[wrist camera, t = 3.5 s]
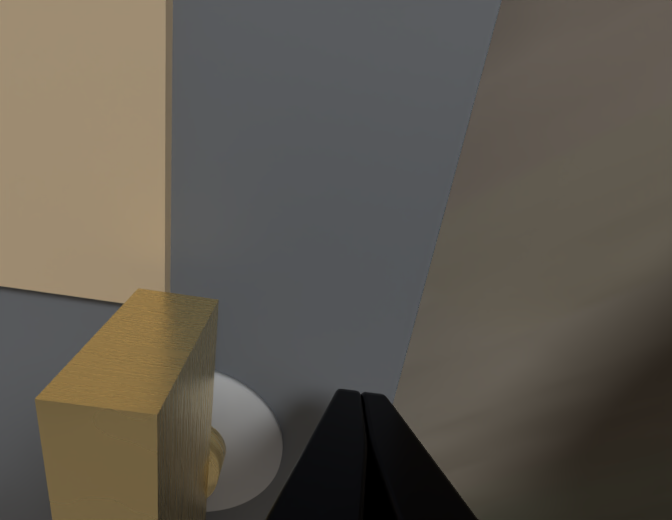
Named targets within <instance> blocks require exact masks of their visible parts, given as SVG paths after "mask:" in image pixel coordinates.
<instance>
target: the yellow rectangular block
mask: <svg viewBox="0 0 672 520" xmlns="http://www.w3.org/2000/svg"><path fill="white" fill-rule="evenodd" d="M218 304H219V300H218V299H211V298H204V297H197V296H190V295H183V294H176V293H169V292H162V291H155V290H148V289H141V288H138V289H137V290H136V291H135V292H134V293H133V294H132V295H131V297H130V298H129V299H128V300H127V301H126V302H125V303H124V304H123V305H122V306H121V307H120V308H119V309H118V310H117V311H116V313H115V314H114V315H113V316H112V317H111V318H110V319H109V320H108V321H107V322H106V323H105V324H104V325H103V326H102V327H101V329H100V330H99V331H98V332H97V333H96V334H95V335H94V336H93V337H92V338H91V339H90V340H89V341H88V342H87V344H86V345H85V346H84V347H83V348H82V349H81V350H80V351H79V352H78V353H77V354H76V355H75V356H74V357H73V358H72V360H71V361H70V362H69V363H68V364H67V365H66V366H65V367H64V368H63V369H62V370H61V371H60V372H59V373H58V375H57V376H56V377H55V378H54V379H53V380H52V381H51V382H50V383H49V384H48V385H47V386H46V387H45V388H44V389H43V391H42V392H41V393H40V394H39V395H38V396H37V397H36V398H35V405H36V412H37V419H38V426H39V433H40V439H41V446H42V453H43V460H44V467H45V473H46V480H47V487H48V494H49V501H50V507H51V514H52V520H206V505H207V498H208V497H209V496H210V495H211V494H212V493H213V492H214V490H215V488H216V485H217V482H218V479H219V475H220V472H221V469H222V465H223V462H224V459H225V455H226V445H225V442H224V439H223V438H222V436H221V435H220V433H219V432H218V431H217V430H216V429H215V428H213V427H212V426H211V421H212V405H213V388H214V371H215V354H216V338H217V321H218Z"/></svg>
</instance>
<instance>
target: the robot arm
mask: <svg viewBox="0 0 672 520" xmlns="http://www.w3.org/2000/svg"><path fill="white" fill-rule="evenodd" d="M265 520H478V519H477V518H476V516H475V515H474V514H473V512H472V511H471V510H470V508H469V507H468V506H467V504H466V503H465V502H464V500H463V499H462V498H461V496H460V495H459V493H458V492H457V491H456V489H455V488H454V487H453V485H452V484H451V483H450V481H449V480H448V479H447V477H446V476H445V475H444V473H443V472H442V471H441V469H440V468H439V467H438V465H437V464H436V463H435V461H434V460H433V459H432V457H431V456H430V454H429V453H428V452H427V450H426V449H425V448H424V446H423V445H422V444H421V442H420V441H419V440H418V438H417V437H416V436H415V434H414V433H413V432H412V430H411V429H410V428H409V426H408V425H407V424H406V422H405V421H404V419H403V418H402V417H401V415H400V414H399V413H398V411H397V410H396V409H395V407H394V406H393V405H392V403H391V402H390V401H389V399H388V398H387V397H386V396H385V395H384V394H380V393H372V392H363V393H362V394H360V392H359V391H356V390H349V389H338V390H336V392H335V394H334V395H333V397H332V399H331V401H330V403H329V405H328V406H327V408H326V410H325V412H324V414H323V415H322V417H321V419H320V421H319V423H318V424H317V426H316V428H315V430H314V432H313V434H312V435H311V437H310V439H309V441H308V443H307V444H306V446H305V448H304V450H303V452H302V453H301V455H300V457H299V459H298V461H297V463H296V464H295V466H294V468H293V470H292V472H291V473H290V475H289V477H288V479H287V481H286V482H285V484H284V486H283V488H282V490H281V492H280V493H279V495H278V497H277V499H276V501H275V502H274V504H273V506H272V508H271V510H270V511H269V513H268V515H267V517H266V519H265Z"/></svg>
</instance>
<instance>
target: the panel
mask: <svg viewBox="0 0 672 520" xmlns="http://www.w3.org/2000/svg"><path fill="white" fill-rule="evenodd" d="M501 1H502V0H0V520H52V514H51V507H50V501H49V494H48V487H47V480H46V473H45V467H44V460H43V453H42V446H41V439H40V433H39V426H38V419H37V412H36V405H35V398H36V397H37V396H38V395H39V394H40V393H41V392H42V391H43V389H44V388H45V387H46V386H47V385H48V384H49V383H50V382H51V381H52V380H53V379H54V378H55V377H56V376H57V375H58V373H59V372H60V371H61V370H62V369H63V368H64V367H65V366H66V365H67V364H68V363H69V362H70V361H71V360H72V358H73V357H74V356H75V355H76V354H77V353H78V352H79V351H80V350H81V349H82V348H83V347H84V346H85V345H86V344H87V342H88V341H89V340H90V339H91V338H92V337H93V336H94V335H95V334H96V333H97V332H98V331H99V330H100V329H101V327H102V326H103V325H104V324H105V323H106V322H107V321H108V320H109V319H110V318H111V317H112V316H113V315H114V314H115V313H116V311H117V310H118V309H119V308H120V307H121V306H122V305H123V304H124V303H125V302H126V301H127V300H128V299H129V298H130V297H131V295H132V294H133V293H134V292H135V291H136V290H137V289H138V288H141V289H148V290H155V291H162V292H169V293H176V294H183V295H190V296H197V297H204V298H211V299H218V300H219V304H218V321H217V338H216V354H215V371H214V388H213V405H212V421H211V426H212V427H213V428H215V429H216V430H217V431H218V432H219V433H220V435H221V436H222V438H223V439H224V442H225V445H226V455H225V459H224V462H223V465H222V469H221V472H220V475H219V479H218V482H217V485H216V488H215V490H214V492H213V493H212V494H211V495H210V496H209V497H208V498H207V505H206V520H265V519H266V517H267V515H268V513H269V511H270V510H271V508H272V506H273V504H274V502H275V501H276V499H277V497H278V495H279V493H280V492H281V490H282V488H283V486H284V484H285V482H286V481H287V479H288V477H289V475H290V473H291V472H292V470H293V468H294V466H295V464H296V463H297V461H298V459H299V457H300V455H301V453H302V452H303V450H304V448H305V446H306V444H307V443H308V441H309V439H310V437H311V435H312V434H313V432H314V430H315V428H316V426H317V424H318V423H319V421H320V419H321V417H322V415H323V414H324V412H325V410H326V408H327V406H328V405H329V403H330V401H331V399H332V397H333V395H334V394H335V392H336V390H338V389H349V390H356V391H359V392H360V394H362V393H363V392H372V393H380V394H384V395H385V396H386V397H387V398H388V399H389V401H390V402H391V403H392V405H393V401H394V397H395V393H396V390H397V386H398V382H399V379H400V375H401V371H402V367H403V364H404V360H405V356H406V353H407V349H408V345H409V342H410V338H411V334H412V330H413V327H414V323H415V319H416V316H417V312H418V308H419V304H420V301H421V297H422V293H423V290H424V286H425V282H426V279H427V275H428V271H429V267H430V264H431V260H432V256H433V253H434V249H435V245H436V241H437V238H438V234H439V230H440V227H441V223H442V219H443V216H444V212H445V208H446V204H447V201H448V197H449V193H450V190H451V186H452V182H453V178H454V175H455V171H456V167H457V164H458V160H459V156H460V153H461V149H462V145H463V141H464V138H465V134H466V130H467V127H468V123H469V119H470V116H471V112H472V108H473V104H474V101H475V97H476V93H477V90H478V86H479V82H480V78H481V75H482V71H483V67H484V64H485V60H486V56H487V53H488V49H489V45H490V41H491V38H492V34H493V30H494V27H495V23H496V19H497V15H498V12H499V8H500V4H501Z"/></svg>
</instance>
